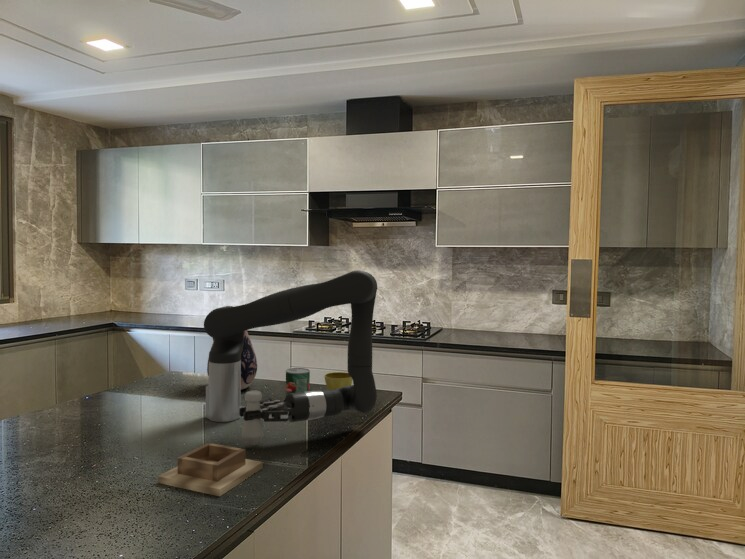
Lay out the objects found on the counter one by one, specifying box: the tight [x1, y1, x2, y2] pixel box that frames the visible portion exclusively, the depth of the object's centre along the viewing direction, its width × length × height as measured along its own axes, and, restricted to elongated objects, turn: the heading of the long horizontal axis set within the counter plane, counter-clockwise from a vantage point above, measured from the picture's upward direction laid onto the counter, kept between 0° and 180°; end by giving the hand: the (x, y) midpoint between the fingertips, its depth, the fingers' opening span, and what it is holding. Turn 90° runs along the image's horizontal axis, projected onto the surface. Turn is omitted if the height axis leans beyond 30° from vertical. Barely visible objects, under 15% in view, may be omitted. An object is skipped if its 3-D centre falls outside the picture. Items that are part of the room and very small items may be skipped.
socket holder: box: [157, 442, 264, 497], centre depth 124 cm, size 16×16×5 cm
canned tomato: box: [285, 367, 311, 397], centre depth 183 cm, size 8×8×11 cm
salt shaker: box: [241, 389, 266, 446], centre depth 141 cm, size 6×6×13 cm
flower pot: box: [323, 371, 353, 390], centre depth 194 cm, size 10×10×7 cm
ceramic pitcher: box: [206, 330, 258, 391], centre depth 200 cm, size 18×21×25 cm
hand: (242, 414), depth 139 cm, fingers closed on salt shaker, 3 cm apart
